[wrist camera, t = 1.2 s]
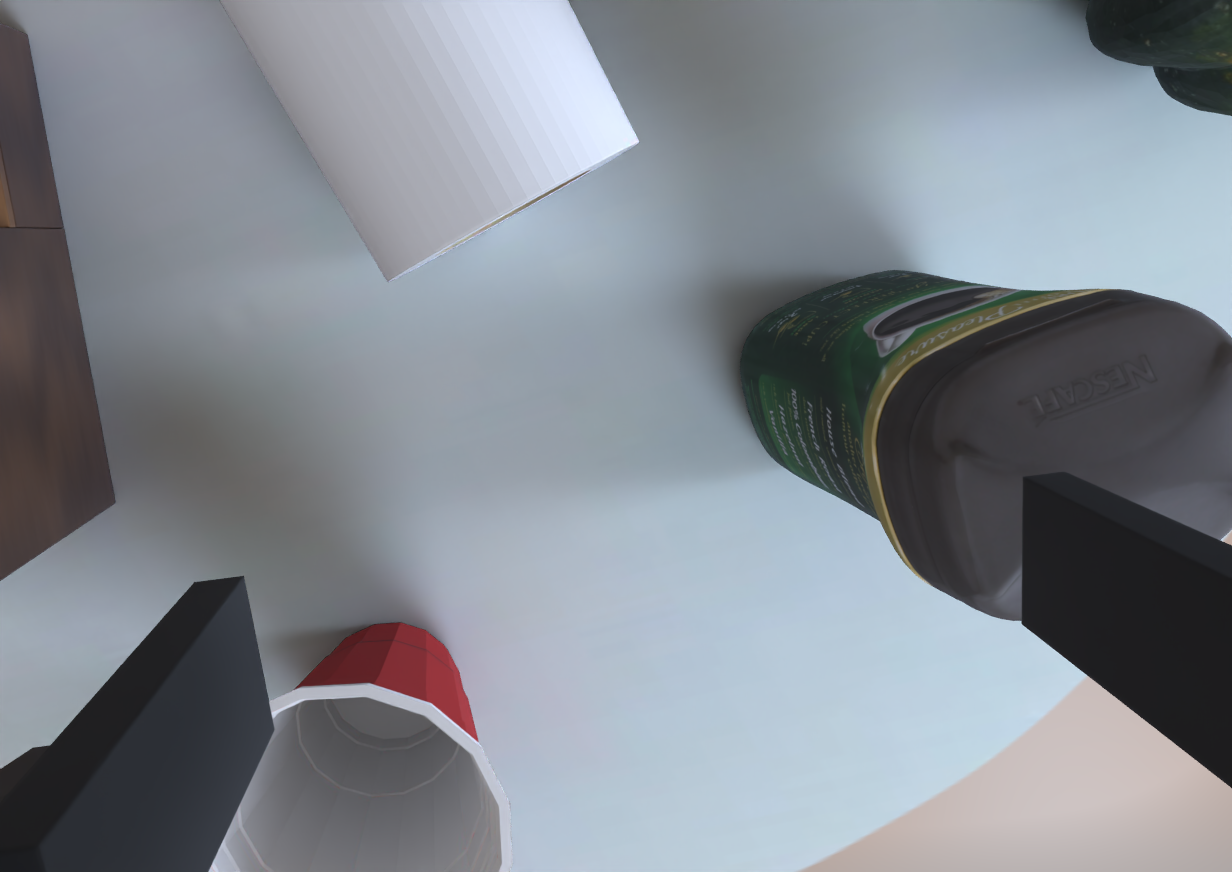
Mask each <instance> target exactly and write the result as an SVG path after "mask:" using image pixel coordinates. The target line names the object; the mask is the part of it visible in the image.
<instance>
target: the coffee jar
mask: <svg viewBox="0 0 1232 872" xmlns="http://www.w3.org/2000/svg"><path fill="white" fill-rule="evenodd" d="M740 374H741V382H742V389H743V393H744V396H745V400H746V404H747V408H748V412H749V415H750V418H751V421H752V423H753V426H754V428H755V431H756V433H757V436H758V438H759V439H760V441H761V443H762V445H763V447H764V448H765V450H766V451H767V453H768V454H769V455H770V456H771V457H772V458H773V459H774V460H775V461H776V462H777V463H779V464H780V465H781V466H783V467H784V468H786V469H787V470H789V471H790V472H792V473H793V474H795V475H796V476H798V477H800V478H802V479H803V480H805V481H807V482H809V483H811V484H813V485H815V486H817V487H819V488H821V489H823V490H825V491H827V492H829V493H831V494H833V495H835V496H837V497H838V498H840V499H842V500H844V501H846V502H848V503H850V504H851V505H853V506H855V507H857V508H858V509H860V510H862V511H863V512H865V513H867V514H869V515H870V516H872V517H874V518H875V519H877V520H879V521H880V522H881V524H882V526H883V528H884V531H885V533H886V534H887V536H888V538H889V540H890V542H891V544H892V545H893V547H894V549H895V551H896V552H897V553H898V555H899V556H900V558H901V559H902V561H903V562H904V563H905V564H906V565H907V566H908V567H909V568H910V569H911V571H912V572H913V573H914V574H915V575H916V576H918V577H919V578H920V579H922V580H923V581H924V582H926V583H927V584H929V585H931V586H933V587H935V588H937V589H938V590H940V591H942V592H945V593H946V594H948V595H950V596H952V597H954V598H955V599H957V600H960V601H962V602H964V603H965V604H967V605H969V606H970V607H972V608H974V609H976V610H979V611H981V612H983V613H986V614H988V615H990V616H993V617H996V618H1000V619H1006V620H1011V621H1022V508H1023V477H1025V476H1033V475H1040V474H1048V473H1056V472H1064V471H1065V472H1067V473H1070V474H1072V475H1074V476H1076V477H1079V478H1081V479H1083V480H1085V481H1088V482H1090V483H1092V484H1094V485H1097V486H1099V487H1101V488H1103V489H1105V490H1108V491H1110V492H1112V493H1114V494H1117V495H1119V496H1121V497H1123V498H1126V499H1128V500H1130V501H1132V502H1135V503H1137V504H1139V505H1141V506H1144V507H1146V508H1148V509H1150V510H1153V511H1155V512H1157V513H1159V514H1162V515H1164V516H1166V517H1168V518H1171V519H1173V520H1175V521H1177V522H1180V523H1182V524H1184V525H1186V526H1189V527H1191V528H1193V529H1195V530H1198V531H1200V532H1202V533H1204V534H1207V535H1209V536H1211V537H1213V538H1216V539H1218V540H1221V539H1222V538H1223V537H1224V536H1225V535H1226V534H1227V533H1229V532H1230V531H1231V530H1232V338H1231V336H1230V335H1229V334H1228V333H1227V332H1226V331H1225V330H1224V329H1223V328H1222V327H1221V326H1219V325H1218V324H1217V323H1216V322H1215V321H1213V320H1212V319H1210V318H1209V317H1207V316H1206V315H1204V314H1203V313H1201V312H1199V311H1197V310H1195V309H1192V308H1190V307H1187V306H1185V305H1182V304H1180V303H1177V302H1174V301H1170V300H1165V299H1162V298H1158V297H1155V296H1150V295H1146V294H1142V293H1137V292H1134V291H1131V290H1121V289H1084V290H1055V291H1032V290H1017V289H1008V288H1001V287H995V286H989V285H982V284H976V283H969V282H964V281H958V280H953V279H949V278H943V277H939V276H934V275H930V274H925V273H918V272H910V271H899V270H892V271H884V272H880V273H874V274H869V275H865V276H862V277H857V278H854V279H849V280H847V281H844V282H841V283H837V284H835V285H832V286H829V287H826V288H823V289H821V290H818V291H815V292H813V293H811V294H808V295H805V296H803V297H801V298H799V299H797V300H795V301H793V302H791V303H788V304H787V305H785V306H783V307H781V308H779V309H777V310H776V311H774V312H772V313H770V314H769V315H767V316H766V317H765V318H764V319H763V320H761V321H760V322H759V323H758V324H757V325H756V326H755V328H754V329H753V330H752V332H751V333H750V335H749V336H748V338H747V340H746V342H745V344H744V347H743V350H742V355H741V361H740Z"/></svg>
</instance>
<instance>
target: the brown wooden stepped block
mask: <svg viewBox="0 0 1232 872" xmlns="http://www.w3.org/2000/svg"><path fill="white" fill-rule="evenodd" d="M62 228H63V222H62V217H61V212H60V206H59V201H58V196H57V190H56V185H55V180H54V174H53V169H52V163H51V158H50V153H49V147H48V142H47V137H46V131H45V126H44V121H43V115H42V110H41V105H40V99H39V94H38V89H37V83H36V78H35V73H34V67H33V62H32V57H31V51H30V46H29V41H28V36H27V34H25V33H23V32H20V31H18V30H16V29H13V28H11V27H8V26H6V25H4V24H1V23H0V581H1V580H2V579H4V578H5V577H7V576H8V575H10V574H11V573H13V572H14V571H16V570H17V569H19V568H20V567H22V566H23V565H25V564H26V563H28V562H29V561H31V560H32V559H33V558H35V557H36V556H38V555H39V554H41V553H42V552H44V551H45V550H47V549H48V548H50V547H51V546H53V545H54V544H56V543H57V542H59V541H60V540H62V539H63V538H65V537H66V536H67V535H69V534H70V533H72V532H73V531H75V530H76V529H78V528H79V527H81V526H82V525H84V524H85V523H87V522H88V521H90V520H91V519H93V518H94V517H96V516H97V515H99V514H100V513H101V512H103V511H104V510H106V509H107V508H109V507H110V506H112V505H113V504H115V498H114V493H113V487H112V482H111V477H110V471H109V466H108V461H107V455H106V450H105V445H104V439H103V434H102V429H101V423H100V418H99V413H98V407H97V402H96V396H95V391H94V386H93V380H92V375H91V370H90V364H89V359H88V354H87V348H86V343H85V338H84V332H83V327H82V322H81V316H80V311H79V306H78V300H77V295H76V290H75V284H74V279H73V273H72V268H71V263H70V257H69V252H68V247H67V241H66V236H65V231H64V229H62Z"/></svg>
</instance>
